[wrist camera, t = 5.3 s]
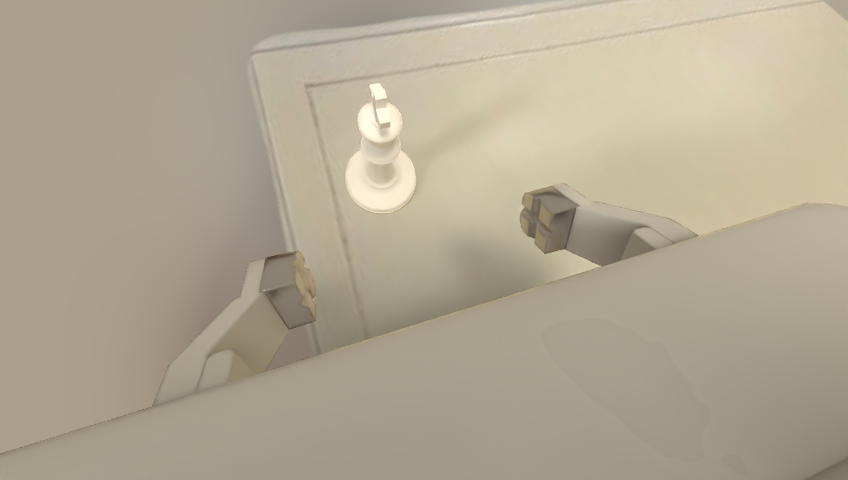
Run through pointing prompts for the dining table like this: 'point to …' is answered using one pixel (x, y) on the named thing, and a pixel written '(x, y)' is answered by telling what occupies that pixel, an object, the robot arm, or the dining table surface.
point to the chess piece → (380, 159)
